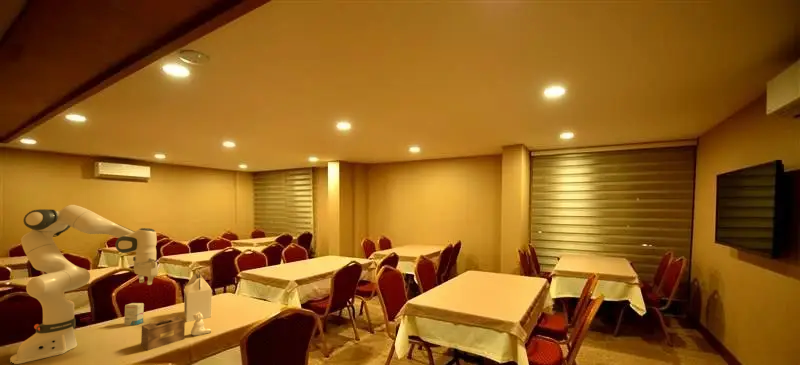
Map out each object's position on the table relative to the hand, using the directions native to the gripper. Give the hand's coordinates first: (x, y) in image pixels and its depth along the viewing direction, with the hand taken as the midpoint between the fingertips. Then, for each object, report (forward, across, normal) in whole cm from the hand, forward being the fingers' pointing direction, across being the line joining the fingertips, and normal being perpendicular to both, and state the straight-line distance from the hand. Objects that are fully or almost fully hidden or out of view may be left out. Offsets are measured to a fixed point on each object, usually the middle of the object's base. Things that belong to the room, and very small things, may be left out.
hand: (145, 283), depth 179 cm
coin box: (+29, -15, -3) cm, 33 cm away
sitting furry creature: (+29, -20, -18) cm, 40 cm away
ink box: (+29, +32, -7) cm, 44 cm away
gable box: (+29, +13, -34) cm, 47 cm away
